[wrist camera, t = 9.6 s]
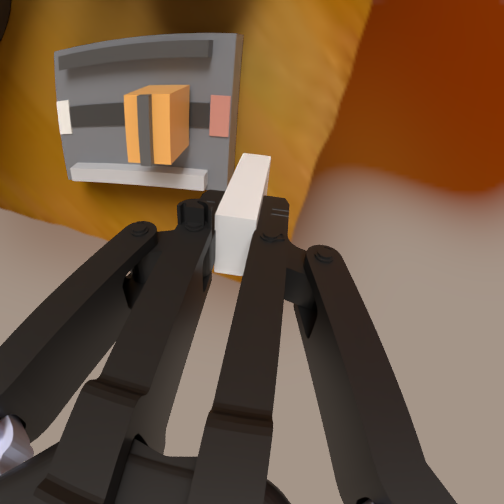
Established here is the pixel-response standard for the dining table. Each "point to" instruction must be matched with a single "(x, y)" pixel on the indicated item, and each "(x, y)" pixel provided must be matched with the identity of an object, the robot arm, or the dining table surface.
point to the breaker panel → (138, 76)
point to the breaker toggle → (157, 123)
